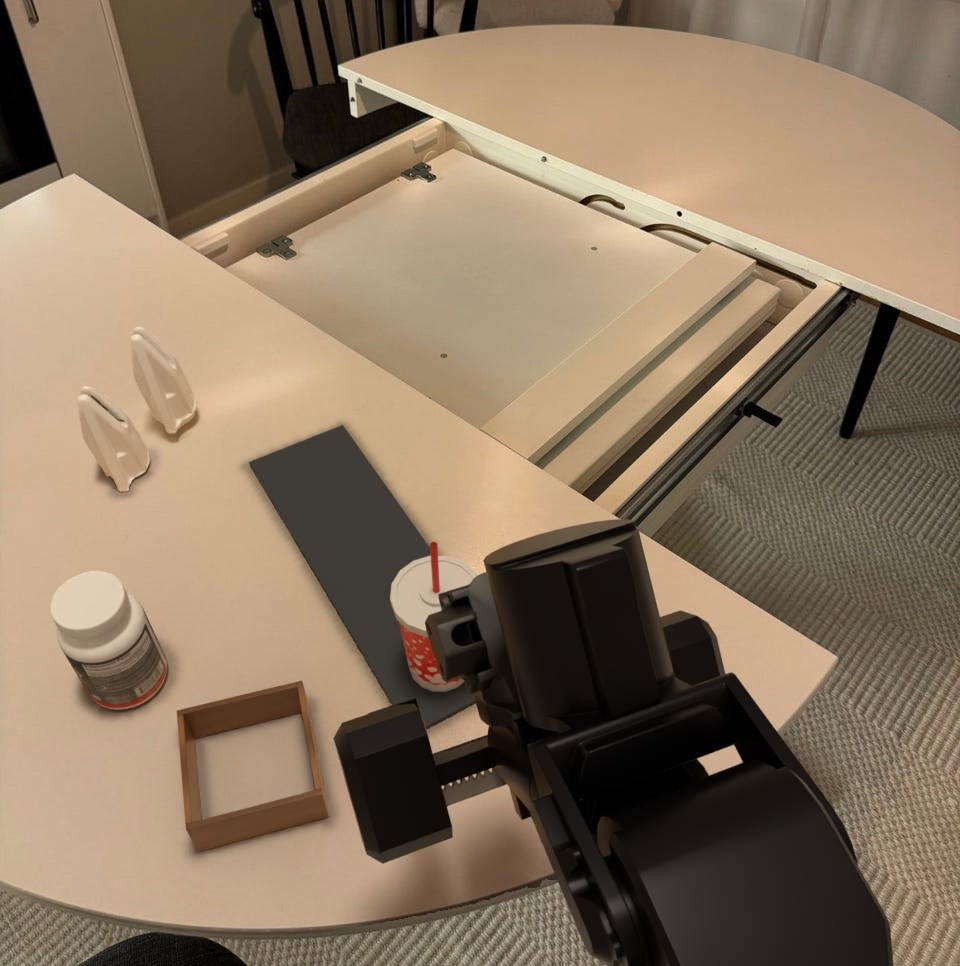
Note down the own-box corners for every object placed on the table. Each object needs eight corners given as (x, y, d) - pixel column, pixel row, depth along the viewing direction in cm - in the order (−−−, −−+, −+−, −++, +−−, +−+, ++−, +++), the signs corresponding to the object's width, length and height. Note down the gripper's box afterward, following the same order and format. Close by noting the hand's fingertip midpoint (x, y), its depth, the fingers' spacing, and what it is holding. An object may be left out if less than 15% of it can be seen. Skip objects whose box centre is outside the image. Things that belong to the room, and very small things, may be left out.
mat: (521, 678, 69) (521, 675, 69) (411, 737, 66) (411, 734, 66) (343, 427, 87) (342, 424, 86) (249, 464, 84) (248, 461, 83)
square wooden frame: (329, 817, 62) (322, 794, 60) (198, 851, 61) (185, 829, 58) (308, 705, 68) (302, 680, 65) (188, 735, 66) (176, 710, 64)
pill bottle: (86, 654, 71) (41, 574, 63) (165, 635, 72) (129, 554, 64) (89, 722, 67) (41, 645, 60) (172, 700, 68) (135, 622, 61)
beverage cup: (449, 717, 67) (444, 601, 56) (381, 673, 69) (363, 554, 59) (499, 654, 70) (502, 535, 60) (432, 614, 73) (424, 492, 62)
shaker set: (179, 393, 90) (149, 297, 81) (215, 408, 88) (187, 311, 80) (88, 477, 83) (44, 381, 74) (125, 494, 81) (85, 398, 73)
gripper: (754, 521, 40) (610, 505, 55) (316, 659, 35) (291, 600, 51) (813, 772, 41) (656, 689, 56) (394, 937, 36) (346, 798, 52)
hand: (494, 689), depth 53 cm, fingers open, 9 cm apart
